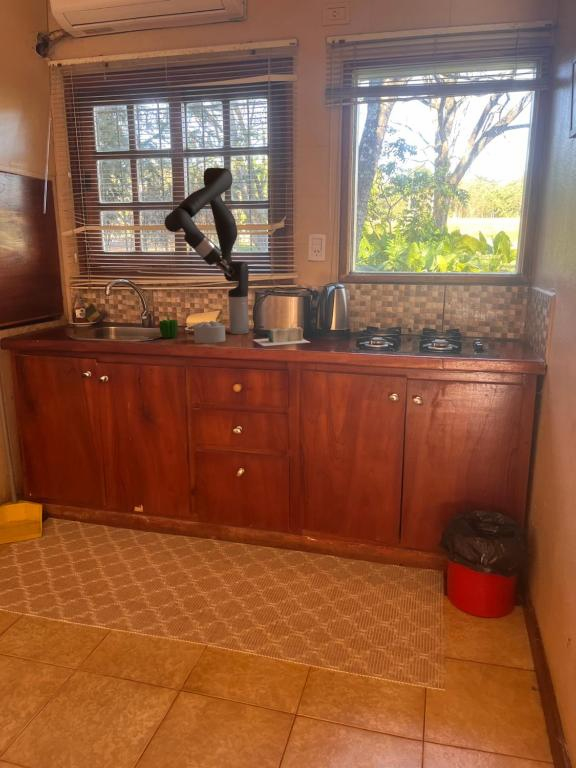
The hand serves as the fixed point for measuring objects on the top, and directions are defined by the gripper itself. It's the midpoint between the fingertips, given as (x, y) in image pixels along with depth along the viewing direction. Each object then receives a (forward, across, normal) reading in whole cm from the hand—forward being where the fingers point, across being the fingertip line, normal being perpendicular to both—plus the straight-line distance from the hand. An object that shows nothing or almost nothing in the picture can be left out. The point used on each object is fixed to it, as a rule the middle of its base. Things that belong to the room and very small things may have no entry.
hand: (238, 280), depth 226 cm
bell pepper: (+1, +28, +37) cm, 47 cm away
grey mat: (+31, -4, +7) cm, 32 cm away
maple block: (+25, -4, +8) cm, 27 cm away
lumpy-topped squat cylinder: (+12, +10, +26) cm, 31 cm away
